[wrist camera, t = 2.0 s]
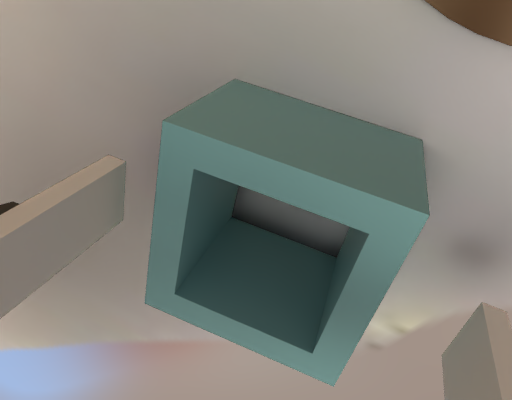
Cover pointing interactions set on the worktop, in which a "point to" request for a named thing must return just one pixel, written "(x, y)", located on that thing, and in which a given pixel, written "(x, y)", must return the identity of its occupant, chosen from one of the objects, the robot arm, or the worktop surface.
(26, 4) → the worktop surface
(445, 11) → the post stand
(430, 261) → the worktop surface
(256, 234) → the collar
